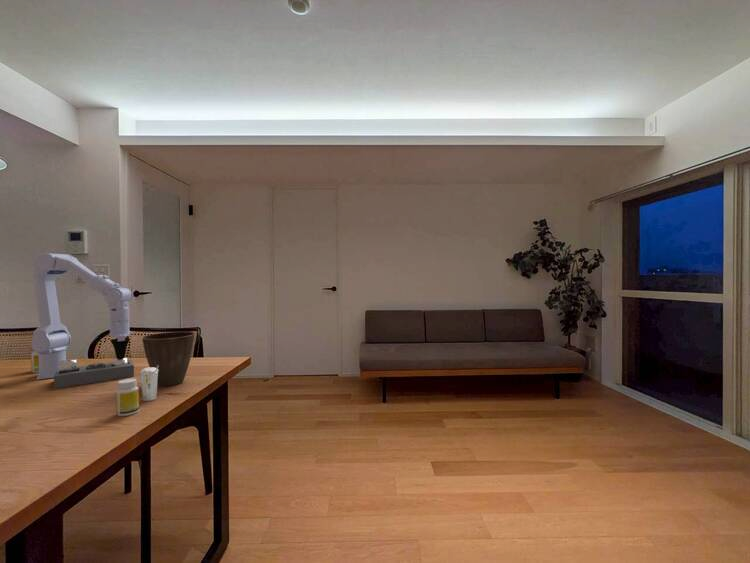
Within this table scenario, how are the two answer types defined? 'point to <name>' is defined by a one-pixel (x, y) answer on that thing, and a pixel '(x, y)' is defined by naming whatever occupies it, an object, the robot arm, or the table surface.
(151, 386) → the milkshake
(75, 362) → the knob
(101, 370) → the control panel
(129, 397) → the supplement bottle
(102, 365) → the knob middle
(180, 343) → the plant pot
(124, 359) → the knob
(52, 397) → the table surface
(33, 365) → the supplement bottle
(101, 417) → the table surface
